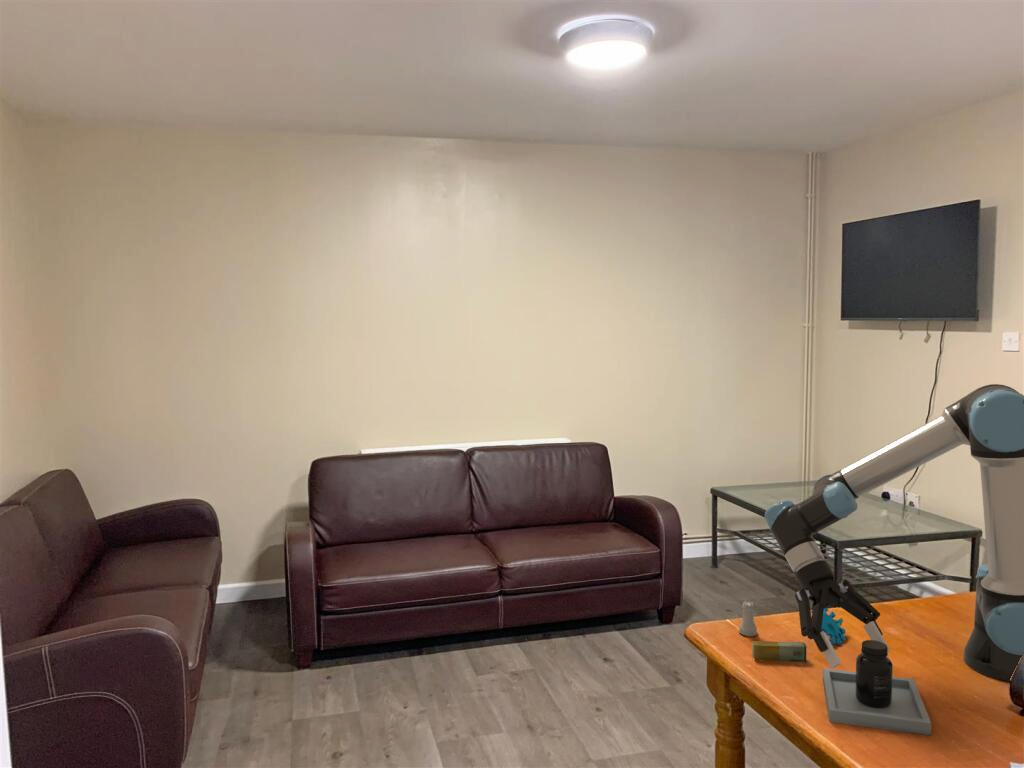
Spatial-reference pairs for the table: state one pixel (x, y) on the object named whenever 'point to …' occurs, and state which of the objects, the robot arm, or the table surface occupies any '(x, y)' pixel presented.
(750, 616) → the rook chess piece
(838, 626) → the blue bumpy irregular piece
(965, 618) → the table surface
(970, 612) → the table surface
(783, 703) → the table surface
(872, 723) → the tray
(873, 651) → the supplement bottle
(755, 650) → the medication box
